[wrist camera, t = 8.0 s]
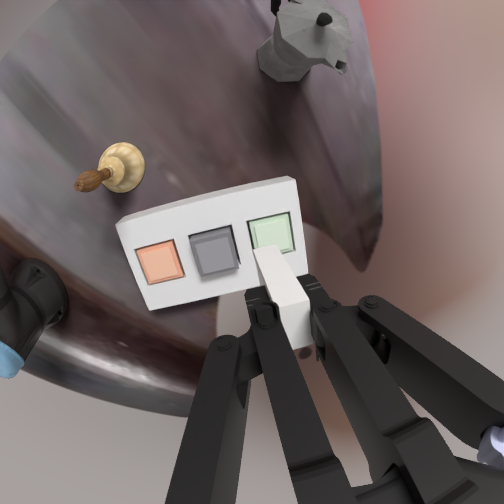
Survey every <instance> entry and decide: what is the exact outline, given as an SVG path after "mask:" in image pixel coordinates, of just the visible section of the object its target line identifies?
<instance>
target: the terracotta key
mask: <svg viewBox="0 0 504 504" xmlns="http://www.w3.org/2000/svg"><path fill="white" fill-rule="evenodd" d="M137 254H138V256H139V259H140V262H141V264H142V267H143V269H144V272H145V275H146V277H147V280H148V282H149V284H152V283H156V282H160V281H165V280H169V279H173V278H178V277H182V276H183V275H184V269H183V266H182V263H181V260H180V257H179V254H178V250H177V247H176V244H175V241H174V239H170V240H167V241H163V242H159V243H155V244H151V245H148V246H144V247H140V248H138V250H137Z"/></svg>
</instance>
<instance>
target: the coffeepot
mask: <svg viewBox="0 0 504 504" xmlns="http://www.w3.org/2000/svg"><path fill="white" fill-rule="evenodd" d="M288 1H289V3H288V4H287V5H285V6H284V7H283V8H282V9H281V10H280V11H279V6H280V5H281V0H271V12H272V13H273V14H274V15H275V16H276V22H275V27H274V32H273V35H272V36H270V37H269V38H268V39H267V40H266V41H265V42H264V43H263V44H262V45H261V46H260V47H259V48H258V49H257V54H258V61H259V66H260V69H261V70H262V71H264V72H265V73H266V74H267V75H268V76H270V77H271V78H273V79H274V80H276V81H277V82H290V81H300V80H301V78H302V77H303V76H304V75H305V74H306V73H307V72H308V71H309V70H310V68H311V67H312V66H313V65H316V64H320V63H322V64H325V65H327V66H329V67H331V68H333V69H335V71H336V72H338V73H339V74H341V75H342V74H344V73H345V72H346V71H347V69H348V66H347V59H346V55H345V50H346V49H347V48H348V47H349V46H350V45H351V44H352V43H353V41H352V36H351V32H350V27H349V23H348V19H347V18H346V17H345V16H344V15H342V14H341V13H340V12H339V11H338V10H336V9H335V8H334V7H333V6H331V5H330V4H329V3H327V2H326V1H325V0H288Z"/></svg>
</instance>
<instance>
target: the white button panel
mask: <svg viewBox="0 0 504 504" xmlns="http://www.w3.org/2000/svg"><path fill="white" fill-rule="evenodd" d="M284 212H286V213H287V214H288V217H289V224H290V230H291V237H292V244H293V250H291V251H287V252H283V253H281V254H282V255H283V257H284V258H285V260H286V262H287V263H288V265H289V267H290V268H291V270H292V271H293V273H294V275H295V276H296V277H297V276H301V275H304V274H308V267H307V259H306V252H305V244H304V235H303V228H302V220H301V213H300V206H299V199H298V193H297V186H296V180H295V179H293V178H291V177H289V176H283V177H278V178H273V179H268V180H263V181H259V182H254V183H249V184H245V185H240V186H236V187H231V188H227V189H223V190H219V191H214V192H210V193H206V194H202V195H198V196H194V197H191V198H187V199H183V200H179V201H175V202H172V203H168V204H164V205H161V206H157V207H154V208H150V209H147V210H144V211H140V212H137V213H134V214H130V215H127V216H124V217H123V218H122V219H121V220H120V221H119V222H118V223H116V224H115V225H116V228H117V231H118V234H119V237H120V240H121V242H122V245H123V248H124V251H125V253H126V256H127V258H128V261H129V264H130V266H131V269H132V271H133V274H134V276H135V278H136V281H137V283H138V286H139V288H140V290H141V293H142V295H143V297H144V299H145V302H146V304H147V306H148V308H149V311H150V310H155V309H159V308H164V307H169V306H174V305H178V304H183V303H188V302H192V301H197V300H201V299H206V298H210V297H215V296H219V295H223V294H228V293H231V292H236V291H240V290H244V289H249V288H253V287H257V286H260V283H259V278H258V273H257V268H256V263H255V258H254V253H253V244H252V239H251V234H250V230H249V225H248V220H252V219H257V218H261V217H266V216H270V215H274V214H279V213H284ZM225 226H229V227H230V231H231V235H232V239H233V243H234V247H235V252H236V256H237V260H238V264H239V269H236V270H231V271H227V272H223V273H219V274H214V275H210V276H206V277H202V278H201V276H200V273H199V270H198V267H197V264H196V260H195V257H194V254H193V250H192V247H191V244H190V238H191V235H192V234H196V233H200V232H204V231H208V230H212V229H217V228H221V227H225ZM170 239H174V241H175V244H176V247H177V250H178V254H179V257H180V260H181V263H182V266H183V269H184V275H183V276H182V277H178V278H173V279H169V280H165V281H160V282H156V283H152V284H149V282H148V280H147V277H146V275H145V272H144V269H143V267H142V264H141V262H140V259H139V256H138V254H137V250H138V248H140V247H144V246H148V245H151V244H155V243H159V242H163V241H167V240H170Z"/></svg>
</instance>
